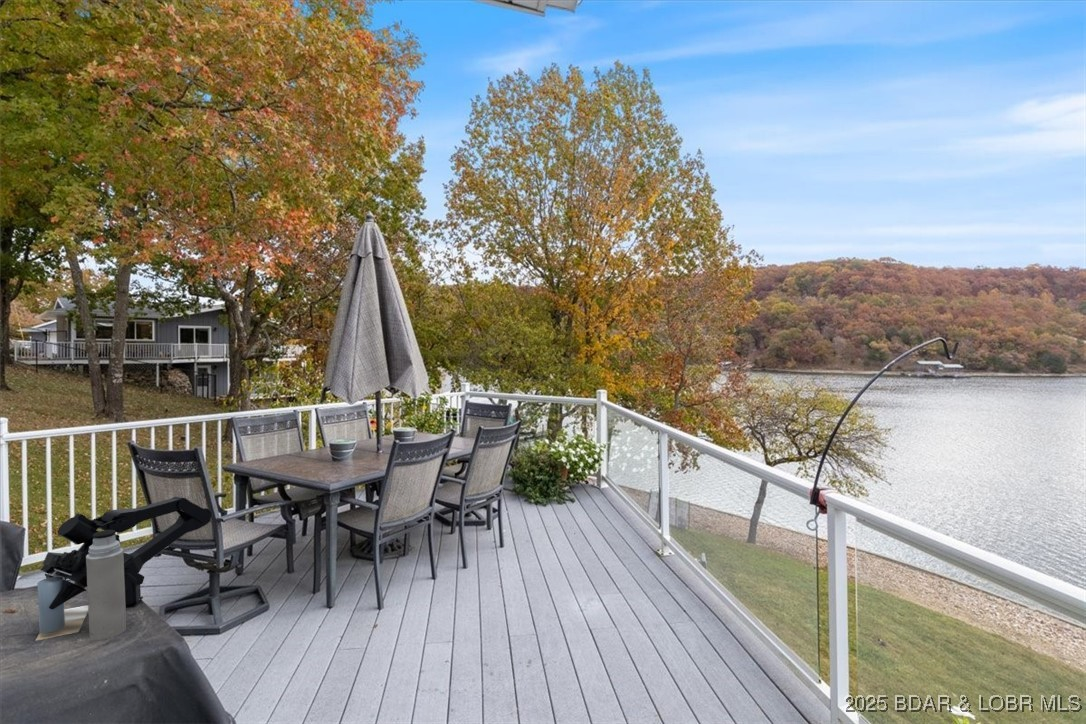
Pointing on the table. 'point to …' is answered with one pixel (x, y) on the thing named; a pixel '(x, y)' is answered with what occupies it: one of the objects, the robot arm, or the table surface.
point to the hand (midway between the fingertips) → (45, 606)
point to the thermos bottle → (105, 586)
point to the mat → (68, 623)
